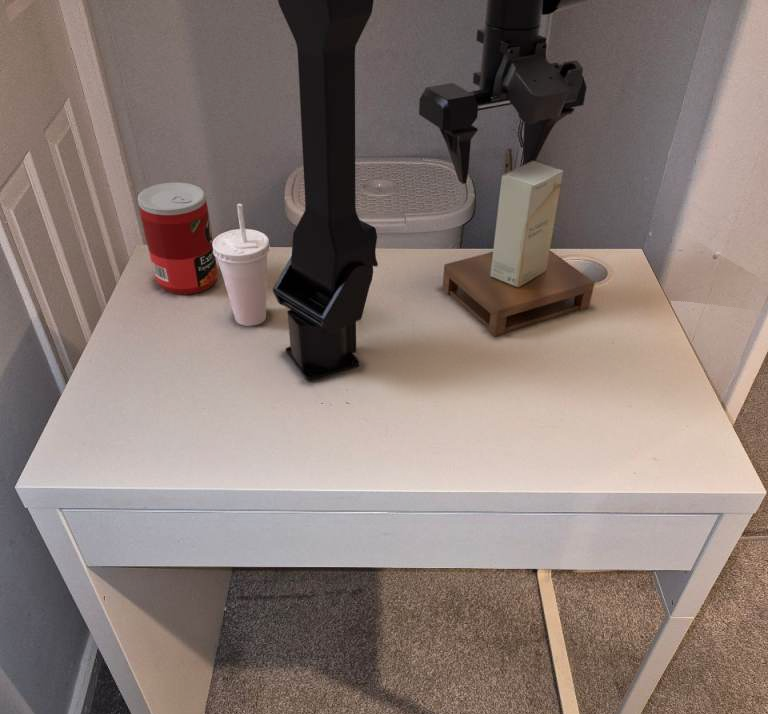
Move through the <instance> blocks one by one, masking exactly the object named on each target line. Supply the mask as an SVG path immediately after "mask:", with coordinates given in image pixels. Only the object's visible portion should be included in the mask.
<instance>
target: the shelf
mask: <svg viewBox="0 0 768 714" xmlns="http://www.w3.org/2000/svg"><path fill="white" fill-rule="evenodd" d="M492 257H493V251H491V252H487V253H482V254H479V255H475V256H471V257H468V258H463V259H460V260H455V261H452V262H449V263H444V264H443V274H442V275H443V277H442V291H443V292H444V293H445V294H447V296H450V297H452V298H453V299H454V300H455V301H456V302H457V303H458V304H460V306H462V307H463V308H464V309H465V310H466V311H467V312H468V313H469V314H471V315H472V316H473V317H474V318H475V319H477V321H478V322H480V323H481V324H482V325H483V326H484V327H485V328H486V329H488V332H489V333H490V334H491V335H492V336H494V337H498V336H501V335H504V334H505V333H508V332H511V331H513V330H514V331H515V330H517V329H520V328H525V327H528V326H530V325H533V324H537V323H540V322H543V321H547V320H550V319H553V318H556V317H560V316H563V315H567V314H569V313H572V312H576V311H582V310H586V309H589V308H590V305H591V300H592V297H593V290H594V287H595V284H596V283H595V281H594V280H592V279H591V278H590V277H588V276H587V275H585V273H583V272H581V271H580V270H578V269H577V268H576V267H574V266H572V265H571V264H570V263H568V262H567V261H566V260H564V259H563V258H562V257H560V256H559V255H557V254H556V253H555V252H553V251H551V250H550V252H549V258H548V263H547V269H546V271H545V272H543V273H542V274H540V275H538V276H537V277H535V278H533V279H532V280H530V281H528V282H527V283H525V284H523V285H522V286H520V287H516V286H513V285H510V284H508V283H506V282H503V281H501V280H499V279H496V278H494V277H491V275H490V274H491V266H492Z"/></svg>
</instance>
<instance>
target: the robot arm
mask: <svg viewBox="0 0 768 714" xmlns="http://www.w3.org/2000/svg"><path fill="white" fill-rule="evenodd" d="M588 1H589V0H486V7H485V8H486V11H485V19H484V20H485V21H484V28H481V29H477V30H476V31H477V32H476V39H475V40H476V42H478V43H480V44H482V51H481V64H480V71H477V72H473V76H472V83H473V84H474V85H475V86H478V87H479V88H478V90H472V91H468V90H466V89H465V88H463V87H462V86H460V85H458V84H456V83H455V82H450V83H444V84H438V85H431V86H426V87H425V88H424V90H423V91H422V93H421V95H420V97H419V102H418V103H419V104H418V115H419V116H420V117H422V118H423V119H425V120H427V121H428V122H429V123H431V124H432V125H434V126H436V127H437V128H438V129H439V131H440V133H441V135H442V138H443V140H444V142H445V144H446V147H447V150H448V153H449V156H450V159H451V163H452V164H453V168H454V171H455V174H456V176H457V181H458V182H459V183H461V184H462V185H464V184H467V182H468V176H469V169H470V156H471V155H470V154H471V143H472V139H473V137H474V136H475V135H476V133H477V132H478V131H479V129H478V128H477V127H476V126H474V125H473V124H474V123H475V121H476V120H478V114H479V111H485V110H488V109H494V108H499V107H504V106H511V105H512V107H513V108H514V109H515V111H516V113H518V117H519V119H520V120H521V121H522V122H523V142H522V143H523V145H522V157H523V158H522V160H523V165H524V164H527V163H529V162H531V161H536V162H537V159H538V157H539V154H540V153H541V152H542V151H541V150H542V149H543V147H544V144H545V142H546V141H547V139H548V136H549V135H550V133H551V132H552V130H553V128H554V127H555V125H556V124H557V123H558V122H559V121H561V120H562V119H563V118H565V117H566V116H568V115H572V114H573V113H574V112H575V108H576V107H581V106H584V105H585V101H586V95H587V90H588V87H587V86H588V85H587V83H586V80H585V77H584V75H583V72H584V71H583V70H584V67H583V66H582V65H581V63H580V62H579V61H578V60H575V59H574V60H570V61H564V62H562V63H560V64H559V63H558V62H549V61H548V59H547V49H548V43H547V37H545V36H542V35H540V31H541V23H542V16H544V15H546V16H547V15H551V14H555V13H558V12H561V11H565V10H568V9H569V10H570V9H572V8H576V7H579V6H582V5H584V4H586V3H587V2H588ZM277 2H278V5H279V8H280V10H281V13H282V15H283V17H284V19H285V21H286V24H287V26H288V28H289V30H290V32H291V35H292V37H293V39H294V41H295V45H296V49H297V51H296V52H297V66H298V68H297V69H298V85H299V86H298V87H299V89H298V90H299V103H300V104H299V107H300V126H301V127H300V128H301V146H302V147H301V148H302V164H303V165H302V166H303V181H304V182H303V186H304V187H303V189H304V203H305V204H304V211H303V213H302V215H301V217H300V219H299V221H298V222H297V225H296V226H295V228H294V230H293V233H292V246H291V256H290V258H289V259H288V261H287V263H286V265H285V267H284V268H283V270H282V271H281V274H280V276H279V277H278V279H277V281H276V282H275V284H274V286H273V288H272V293H273V295H274V297H275V299H276V301H277V303H278V304H279V305H280V306H284V307H285V308H287V309H288V310H287V322H288V333H289V334H288V335H289V345H290V346H288V347H286V348H285V354H286V356H287V357H288V358H289V359H290V361H291V362H292V363H293V365H294V366H295V367H296V369H297V370H298V371H299V373H300V374H301V375H302V376H303V378H304V379H305V380H306V381H308V382H312V381H316V380H320V379H322V378H326V377H329V376H332V375H336V374H339V373H342V372H346V371H349V370H352V369H355V368H358V367H360V365H361V364H360V360H359V359H358V358H357V356H356V355H355V353H357V351H358V349H357V322H358V321H360V320H361V319H362V318H363V314H364V311H365V306H366V302H367V299H368V294H369V291H370V287H371V284H372V281H373V277H374V267H376V268H377V267H378V266H379V263H378V260H377V255H376V249H377V241H378V233H377V229H376V227H375V226H373V225H371V224H369V223H368V222H365V221H363V220H361V219H360V218H359V215H358V213H357V208H356V207H357V206H356V46H357V44H358V42H359V40H360V38H361V35H362V34H363V32H364V30H365V28H366V26H367V24H368V22H369V19H370V18H371V16H372V13H373V7H374V0H277Z"/></svg>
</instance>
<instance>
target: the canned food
mask: <svg viewBox="0 0 768 714" xmlns="http://www.w3.org/2000/svg"><path fill="white" fill-rule="evenodd" d="M137 202H138V203H137V204H138V210H139V215H140V219H141V223H142V228H143V232H144V236H145V241H146V244H147V245H146V246H147V249H148V253H149V257H150V261H151V265H152V266H151V267H152V271H153V275H154V278H155V280H156V282H157V284H158V286H159V288H161V289H162V290H164V291H166V292H169V293H171V294H176V295H190V294H197V293H200V292H203V291H206V290H208V289H209V288H211V287H212V286H214V285H215V283H216V282H217V278H218V273H219V272H218V267H217V265H218V264H217V260H216V259H217V258H216V257H215V256H214V254H213V246H212V243H213V240H214V239H213V234H212V227H211V221H210V214H209V209H208V203H207V197H206V194H205V191H204V190H203V189H202V188H201V187H199V186H197V185H195V184H192V183H188V182H187V183H186V182H164V183H158V184H155V185H152V186H149V187H147V188H145V189H143V190H142V191H140V193H139V194H138V196H137Z"/></svg>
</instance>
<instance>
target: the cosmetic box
mask: <svg viewBox="0 0 768 714" xmlns="http://www.w3.org/2000/svg"><path fill="white" fill-rule="evenodd" d="M563 174H564V170H562V169H561V168H557V167H554V166H550V165H548V164H545V163H542V162H538V161H537V160H536V161H531V162H529V163H527V164H524V163H523V165H520V166H518V167H515V168H514V169H512V170H510V171H508V172H506V173H503V174H502V175H501V182H500V188H499V189H500V191H499V197H498V206H497V214H496V215H497V216H496V224H495V233H494V241H493V251H492V252H493V257H492V266H491V274H490V275H491V277H494V278H496V279H499V280H501V281H503V282H506V283H508V284H510V285H513V286H516V287H520V286H522V285H523V284H525V283H527V282H528V281H530V280H532V279H533V278H535V277H537V276H538V275H540V274H542V273H543V272H545V271H546V269H547V263H548V258H549V252H550V251H551V246H552V240H553V234H554V228H555V222H556V216H557V211H558V204H559V197H560V191H561V186H562V181H563V180H562V179H563Z"/></svg>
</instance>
